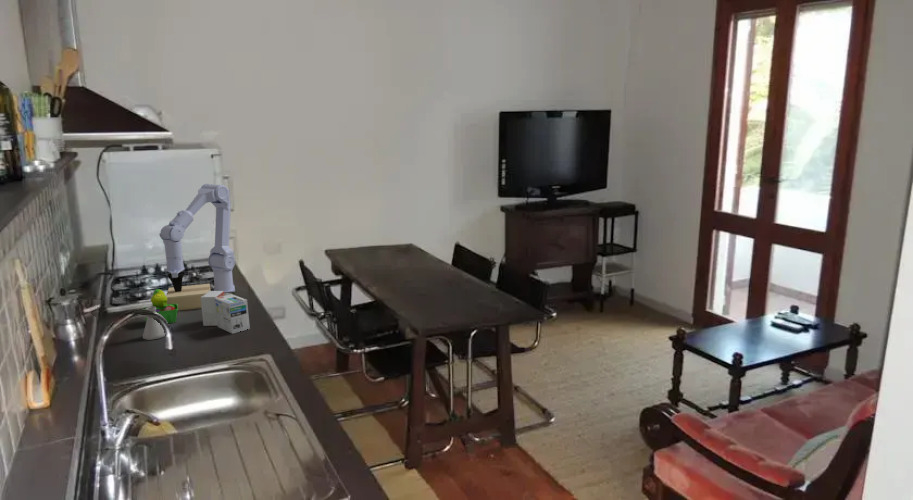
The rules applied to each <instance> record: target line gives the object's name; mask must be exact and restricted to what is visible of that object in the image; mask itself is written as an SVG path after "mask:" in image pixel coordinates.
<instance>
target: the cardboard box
mask: <svg viewBox="0 0 913 500" xmlns="http://www.w3.org/2000/svg"><path fill="white" fill-rule="evenodd" d="M210 291H212V290H211V289H210ZM202 296H204V295H200V296H191V297H181V298H171V299H167V304H178V311H179V312H180V311H188V310H197V309H202V307H201V298H200V297H202ZM178 311H177V312H178Z"/></svg>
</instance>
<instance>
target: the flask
mask: <svg viewBox="0 0 913 500" xmlns="http://www.w3.org/2000/svg"><path fill="white" fill-rule="evenodd" d="M147 307H148V308H146V307H145V308H146V310H151V311H153V312H156V311H155V310H156V307H151V306H147ZM164 331H165V330H164V328H163V326H162V324H161V325H160V323H158V322H157V321H156V320H154V319H153V318H149V317H147V321H146V320H145V327H144V331H143V333H142V339H143V340H147V341H150V340H156V339H157V340H159V339H161V338H164V337H166V336H165V334H166V332H165V333H164Z"/></svg>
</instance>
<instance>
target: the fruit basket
mask: <svg viewBox="0 0 913 500" xmlns="http://www.w3.org/2000/svg"><path fill="white" fill-rule="evenodd" d="M166 295H167V294H166V293H165V291H163V290H161V289H160V288H159V289H158V288H157V289H154V291H153V293H152V296H151V297H150V302H151V304H152V306H150V307H156V310H155V311H156V312H157V313H159V314H161V315H162V316H163V317H164V318H165V319H166V320H167V322H168V323H167V324H172V323H176V322H177V316H178V304H167V297H166ZM148 307H149V306H146V307H143V308H142V310H143V309H146V308H148ZM144 319H145V322H146V321H147V318H145V317H144Z"/></svg>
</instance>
